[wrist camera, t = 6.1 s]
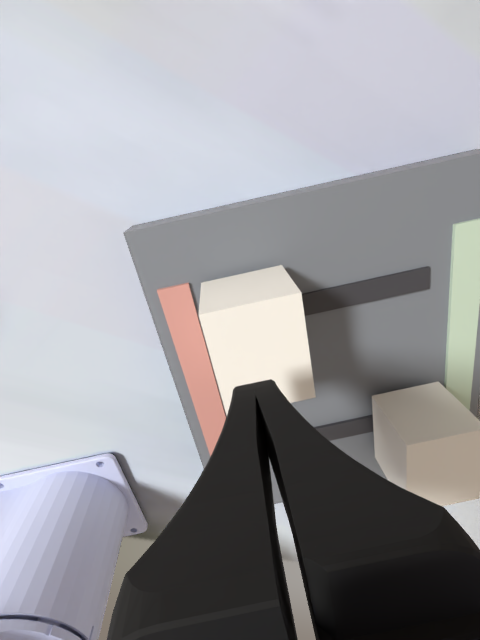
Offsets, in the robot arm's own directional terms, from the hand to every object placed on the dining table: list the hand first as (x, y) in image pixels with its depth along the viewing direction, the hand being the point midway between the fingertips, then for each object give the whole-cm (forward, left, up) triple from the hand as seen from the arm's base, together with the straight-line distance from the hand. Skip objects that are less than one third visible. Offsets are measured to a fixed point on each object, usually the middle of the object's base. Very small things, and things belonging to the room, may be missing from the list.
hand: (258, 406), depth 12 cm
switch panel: (+5, -4, -9) cm, 11 cm away
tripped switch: (+1, 0, -7) cm, 7 cm away
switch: (+9, -9, -7) cm, 14 cm away
